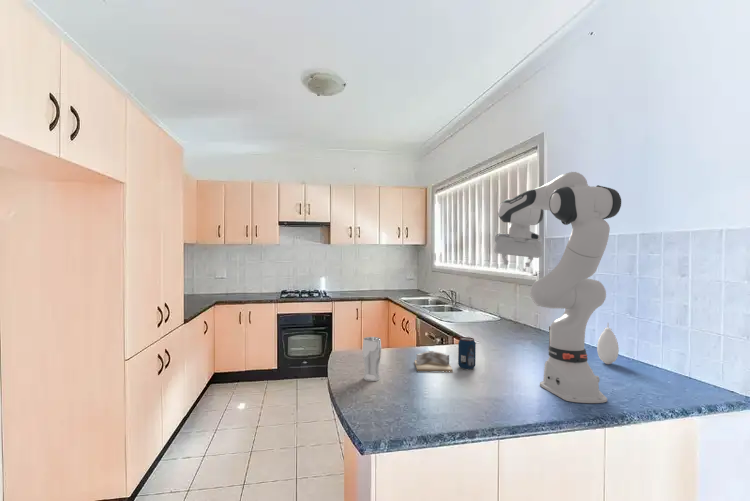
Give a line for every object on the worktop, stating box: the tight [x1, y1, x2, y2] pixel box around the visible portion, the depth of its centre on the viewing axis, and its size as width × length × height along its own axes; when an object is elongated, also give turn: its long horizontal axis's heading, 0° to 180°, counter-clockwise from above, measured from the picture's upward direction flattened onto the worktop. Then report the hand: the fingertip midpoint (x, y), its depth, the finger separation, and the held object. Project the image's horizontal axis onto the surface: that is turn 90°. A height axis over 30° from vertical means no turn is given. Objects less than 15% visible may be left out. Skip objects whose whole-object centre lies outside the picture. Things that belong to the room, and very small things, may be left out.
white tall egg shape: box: [596, 323, 620, 365], centre depth 168 cm, size 8×8×18 cm
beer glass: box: [362, 336, 382, 382], centre depth 145 cm, size 7×7×15 cm
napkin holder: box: [414, 350, 454, 373], centre depth 160 cm, size 13×14×5 cm
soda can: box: [457, 336, 477, 370], centre depth 160 cm, size 7×7×12 cm
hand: (516, 265), depth 173 cm, fingers open, 8 cm apart
